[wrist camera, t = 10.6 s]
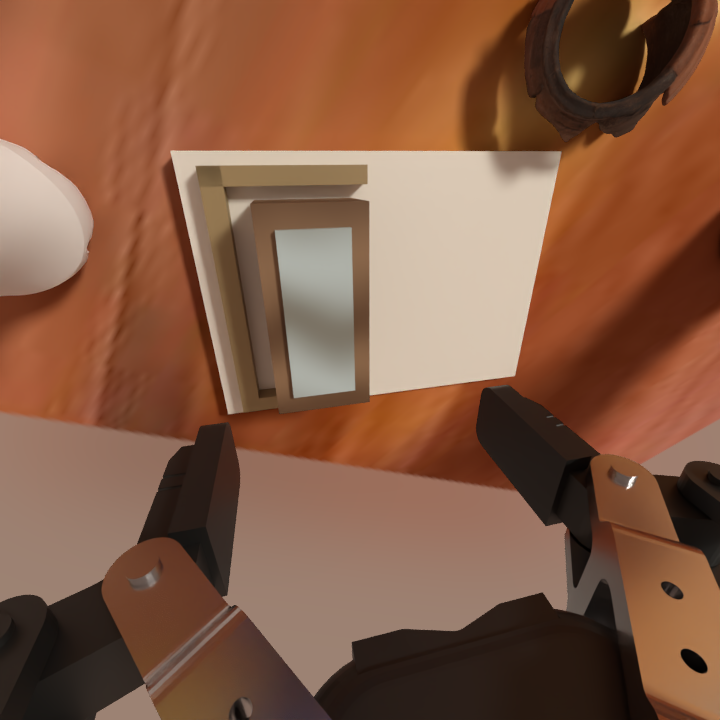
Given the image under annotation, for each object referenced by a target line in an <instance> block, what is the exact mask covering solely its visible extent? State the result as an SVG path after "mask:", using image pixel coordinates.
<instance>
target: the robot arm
mask: <svg viewBox="0 0 720 720" xmlns="http://www.w3.org/2000/svg"><path fill="white" fill-rule="evenodd" d="M476 432H477V437H478V440H479V442H480V444H481V445H482V446H483V448H484V449H485V450H486V451H487V453H488V454H489V455H490V457H491V458H492V459H493V460H494V462H495V463H496V464H497V465H498V467H499V468H500V469H501V470H502V472H503V473H504V474H505V475H506V477H507V478H508V479H509V480H510V482H511V483H512V484H513V485H514V487H515V488H516V489H517V490H518V492H519V493H520V494H521V496H522V497H523V498H524V499H525V501H526V502H527V503H528V504H529V506H530V507H531V508H532V509H533V511H534V512H535V513H536V514H537V516H538V517H539V518H540V519H541V521H542V522H543V523H544V524H545V526H549V525H553V524H557V523H562V522H563V523H564V524H565V525H566V527H567V530H566V533H565V555H566V574H567V592H568V601H567V609H566V611H563V610H558V609H553V607H552V606H551V604H550V603H549V601H548V600H547V598H546V597H545V595H544V594H543V593H539V594H535V595H531V596H527V597H524V598H520V599H516V600H512V601H509V602H504V603H501V604H498V605H497V606H495V607H494V608H492V609H491V610H490V611H488V612H487V613H485V614H484V615H482V616H481V617H479V618H478V619H476V620H475V621H473V622H472V623H471V624H469V625H468V626H466V627H465V628H463V629H461V630H458V631H436V630H413V629H412V630H411V629H401V630H397V631H393V632H390V633H386V634H382V635H378V636H374V637H370V638H367V639H362V640H359V641H355V642H352V656H353V660H352V661H351V662H349V663H348V664H346V665H345V666H343V667H342V668H341V669H339V670H338V671H337V672H336V673H335V674H334V675H332V676H331V677H330V678H329V679H328V681H327V682H326V683H325V684H324V685H323V686H322V687H321V688H320V690H319V691H318V692H317V693H316V695H315V696H314V697H313V696H312V695H311V694H310V692H309V691H308V690H307V689H306V687H305V686H304V685H303V684H302V683H301V681H300V680H299V679H298V678H297V676H296V675H295V674H294V673H293V672H292V670H291V669H290V668H289V667H288V665H287V664H286V663H285V662H284V661H283V659H282V658H281V657H280V656H279V654H278V653H277V652H276V651H275V650H274V648H273V647H272V646H271V645H270V643H269V642H268V641H267V640H266V638H265V637H264V636H263V635H262V633H261V632H260V631H259V630H258V629H257V627H256V626H255V625H254V624H253V622H251V620H250V619H249V618H248V616H247V615H246V614H245V613H244V612H243V611H242V610H241V609H240V608H239V607H238V606H236V605H234V606H232V607H230V606H229V605H228V604H227V603H226V601H225V600H224V599H223V598H222V597H223V596H227V592H228V585H229V576H230V567H231V558H232V549H233V541H234V532H235V523H236V514H237V506H238V497H239V488H240V469H239V463H238V458H237V453H236V449H235V444H234V440H233V436H232V431H231V427H230V424H229V423H228V422H227V423H220V424H212V425H205V426H201V427H200V428H199V431H198V435H197V438H196V441H195V445H191V446H184V447H181V448H180V449H179V450H178V451H177V453H176V454H175V455H174V456H173V457H172V458H171V459H170V460H169V462H168V464H167V467H166V470H165V472H164V475H163V479H162V480H161V483H160V485H159V488H158V492H157V494H156V496H155V498H154V501H153V504H152V506H151V509H150V511H149V514H148V517H147V520H146V522H145V525H144V528H143V530H142V532H141V535H140V538H139V541H138V543H137V545H135V546H134V547H132V548H130V549H129V550H128V551H126V552H125V553H124V554H123V555H121V556H120V557H119V558H118V559H117V560H116V561H115V563H113V565H112V566H111V567H110V569H109V570H108V572H107V574H106V575H105V578H104V579H103V580H102V581H100V582H98V583H97V584H95V585H93V586H91V587H88V588H86V589H84V590H82V591H80V592H78V593H75V594H73V595H71V596H69V597H67V598H65V599H62V600H60V601H58V602H56V603H54V604H52V605H49V606H47V604H46V603H45V602H44V601H43V599H42V598H40V597H38V596H35V595H21V596H16V597H13V598H10V599H7V600H5V601H2V602H0V720H95V716H96V713H97V712H98V711H100V710H102V709H103V708H105V707H107V706H108V705H110V704H112V703H113V702H115V701H117V700H118V699H120V698H122V697H123V696H125V695H126V694H128V693H130V692H132V691H133V690H135V689H136V688H138V687H140V686H141V685H143V684H146V689H147V691H148V693H149V696H150V698H151V700H152V702H153V704H154V706H155V708H156V710H157V712H158V714H159V716H160V718H161V720H720V465H718V464H715V463H711V462H705V461H693V462H690V463H688V464H687V465H686V466H685V468H684V470H683V472H682V474H681V476H680V477H676V476H664V475H652V474H651V473H650V472H649V471H648V470H647V469H646V468H644V467H643V466H641V465H640V464H638V463H636V462H634V461H632V460H630V459H627V458H624V457H621V456H617V455H610V454H602V455H601V454H600V453H598V452H597V451H596V450H595V449H594V448H592V447H591V446H590V445H589V444H588V443H586V442H585V441H584V440H583V439H581V438H580V437H579V436H578V435H577V434H575V433H574V432H573V431H572V430H571V429H569V428H568V427H567V426H564V425H563V423H562V422H561V421H560V420H559V419H557V418H556V417H553V415H552V414H551V413H550V412H549V411H548V410H546V409H545V408H544V407H543V406H542V405H540V404H538V403H536V402H534V401H532V400H529V399H527V398H524V397H523V396H521V395H520V394H519V393H518V392H517V391H516V390H514V389H513V388H512V387H511V386H509V385H502V386H495V387H488V388H484V389H483V391H482V394H481V399H480V406H479V412H478V418H477V424H476Z"/></svg>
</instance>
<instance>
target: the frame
mask: <svg viewBox="0 0 720 720" xmlns="http://www.w3.org/2000/svg"><path fill="white" fill-rule="evenodd" d="M250 208H251V215H252V222H253V229H254V236H255V244H256V251H257V258H258V265H259V272H260V279H261V287H262V294H263V301H264V308H265V315H266V323H267V330H268V337H269V344H270V351H271V358H272V366H273V373H274V380H275V387H276V394H277V402H278V409H279V414H283V413H291V412H298V411H306V410H313V409H320V408H328V407H335V406H342V405H350V404H357V403H365V402H370V353H369V201H366V200H360V199H355V198H324V199H280V200H254V201H253V202H252V203H251V204H250Z"/></svg>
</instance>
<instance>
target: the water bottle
mask: <svg viewBox="0 0 720 720" xmlns="http://www.w3.org/2000/svg"><path fill="white" fill-rule="evenodd" d="M93 223H94V221H93V217H92V214H91V211H90V209H89V207H88V205H87V202H86V200H85V199H84V197H83V196H82V194H81V193H80V191H79V190H78V188H77V187H76V186H75V185H74V184H73V183H72V182H71V181H70V180H69V179H67V178H66V177H65V176H63V175H62V174H61V173H59V172H58V171H56V170H54V169H52V168H51V167H49V166H48V165H46V164H45V163H43V162H42V161H40V159H39V158H38V157H37V156H35V155H34V154H33V153H31V152H30V151H28V150H27V149H25V148H23V147H21V146H19V145H17V144H14V143H11V142H8V141H5V140H2V139H0V296H18V295H28V294H34V293H38V292H42V291H46V290H48V289H51V288H53V287H56V286H58V285H59V284H61V283H63V282H65V281H66V280H68V279H69V278H71V277H72V276H73V275H75V274H76V273H77V272H78V271H79V270H80V269H81V268H82V266H83V265H84V264H85V263H86V261H87V258H88V253H89V251H88V250H87V246H88V243H89V240H90V239H91V237H92V233H93Z"/></svg>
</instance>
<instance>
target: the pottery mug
mask: <svg viewBox="0 0 720 720" xmlns="http://www.w3.org/2000/svg"><path fill="white" fill-rule="evenodd" d="M573 1H574V0H539V2H538V3H537V5H536V7H535V8H534V10H533V12H532V14H531V20H530V22H529V24H528V27H527V32H526V40H525V55H524V57H525V59H524V69H525V79H526V85H527V92H528V95H529V97H530V98H536V104H535V107H536V109H537V111H538V112H539V113H540V114H541V115H542V116H543V117H544V118H546V119H547V120H548V121H549V122H550V123H552V124H553V126H554V127H555V128H556V129H557V131H558V132H559V133H560V136H561V138H562V139H563V140H564V141H565V142H567V141H569V140H570V139H571V138H573V137H575V136H576V135H578V134H579V133H581V132H582V131H583V130H585V129H586V128H587V127H589V126H590V125H592V124H594V123H599V128H600V130H601V131H603V132H604V133H606V134H612V135H613V136H614V137H619V136H621V135H623V134H626V133H628V132H630V131H631V130H633V128H634V127H635V125H636V124H637V122H638V121H639V120H640V119H641V118H642V117H643V116H644V115H645V113H646V112H647V111H648V110H649V108H650V107H651V105H652V103H653V102H654V101H655V100H656V99H657V98H658V97H659V95H660V94H662V93H664V94H663V97H662V105H663V106H664V105H666V104H668V103H669V102H670V101H671V100H672V99H673V98H674V97H675V96H676V95H677V93H678V92H679V91H680V90H681V89H682V88H683V86H684V85H685V84H686V83H687V81H688V80H689V79H690V77H691V76H692V74H693V73H694V71H695V69H696V68H697V66H698V64H699V62H700V61H701V59H702V57H703V55H704V53H705V50H706V48H707V46H708V43H709V41H710V38H711V35H712V32H713V29H714V25H715V19H716V17H717V13H718V2H717V0H672V2H670V3H669V4H668V5H667V6H665V7H664V8H663V9H661V10H660V11H659V12H658V14H657V15H655V16H653V17H651V18H650V19H648V20H647V21H646V22H645V23H644V24H643V25H642V30H643V32H644V35H645V38H646V43H647V49H648V51H647V52H648V54H647V62H646V70H645V74H644V77H643V80H642V83H641V84H640V87H639V89H638V91H637V92H636V93H634V94H632V95H630V96H628V97H625V98H623V99H620V100H617V101H612V102H606V103H595V102H590V101H587V100H586V99H583V98H581V97H579V96H577V95H576V94H575V93H574V92H572V91H571V90H570V89H569V87H568V85H567V84H566V82H565V80H564V78H563V75H562V73H561V70H560V63H559V42H560V36H561V32H562V28H563V25H564V21H565V19H566V16H567V14H568V12H569V10H570V8H571V6H572V4H573Z"/></svg>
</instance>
